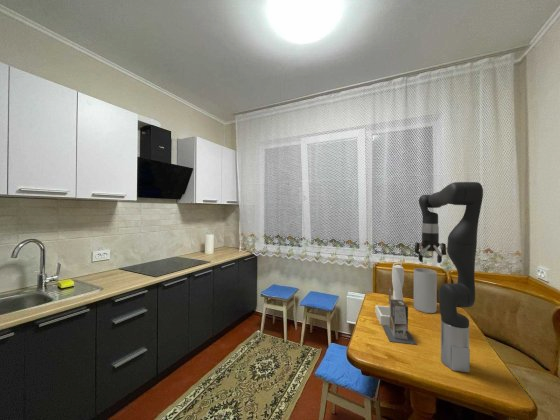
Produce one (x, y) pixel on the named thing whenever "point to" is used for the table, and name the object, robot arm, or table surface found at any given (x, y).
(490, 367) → the table surface
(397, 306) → the coffee box
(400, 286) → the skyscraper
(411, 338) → the rubber mat
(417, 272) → the cylinder vase
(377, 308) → the sleeve box
